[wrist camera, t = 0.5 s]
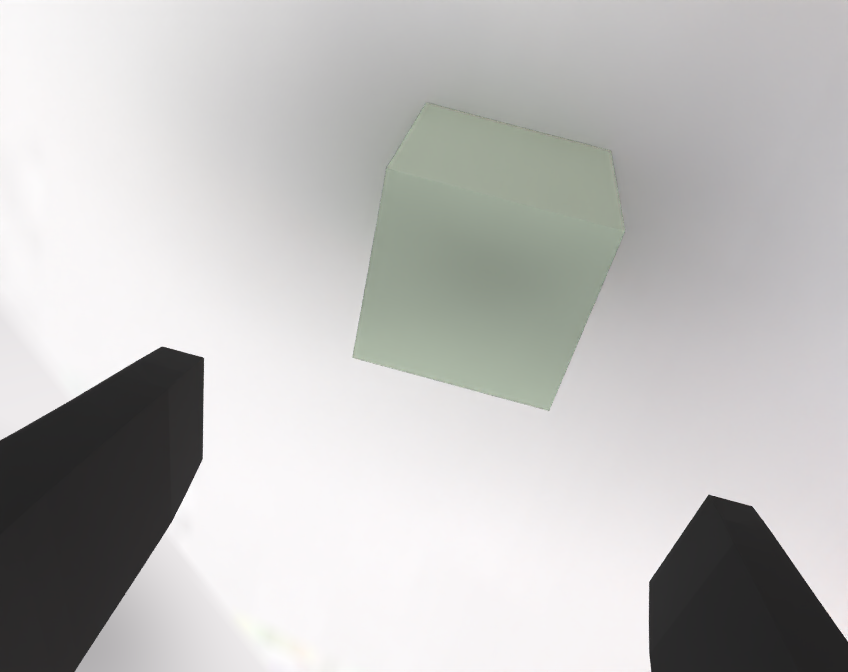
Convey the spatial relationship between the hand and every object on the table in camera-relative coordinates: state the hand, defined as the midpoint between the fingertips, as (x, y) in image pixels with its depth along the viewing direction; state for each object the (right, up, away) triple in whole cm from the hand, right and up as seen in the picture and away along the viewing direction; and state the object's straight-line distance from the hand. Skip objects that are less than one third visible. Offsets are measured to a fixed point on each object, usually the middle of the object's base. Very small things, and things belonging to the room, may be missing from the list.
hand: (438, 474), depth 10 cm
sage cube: (+2, +5, +8) cm, 9 cm away
